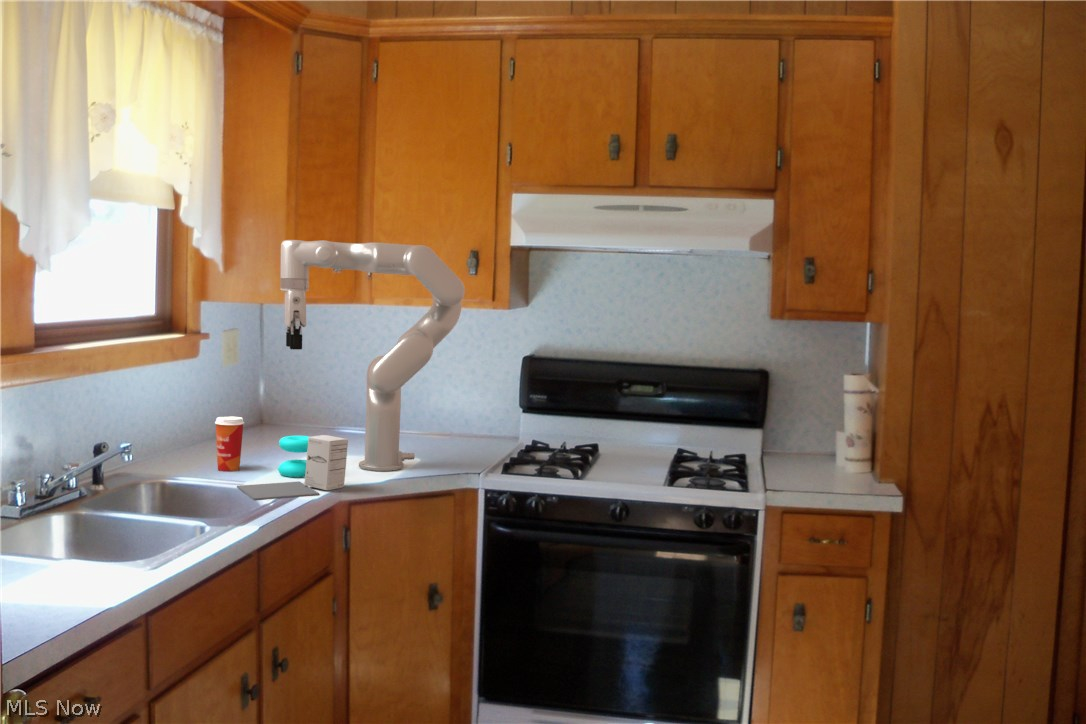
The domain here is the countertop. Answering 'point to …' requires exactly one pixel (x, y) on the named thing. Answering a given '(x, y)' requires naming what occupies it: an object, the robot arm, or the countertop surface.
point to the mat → (277, 490)
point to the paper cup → (229, 442)
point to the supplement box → (326, 462)
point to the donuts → (297, 446)
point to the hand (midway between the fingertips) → (294, 347)
